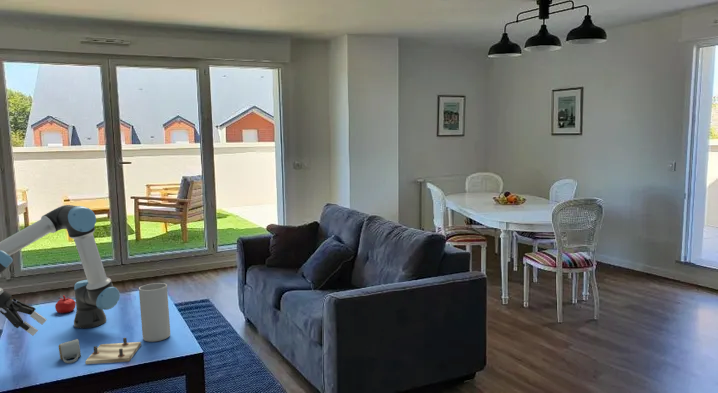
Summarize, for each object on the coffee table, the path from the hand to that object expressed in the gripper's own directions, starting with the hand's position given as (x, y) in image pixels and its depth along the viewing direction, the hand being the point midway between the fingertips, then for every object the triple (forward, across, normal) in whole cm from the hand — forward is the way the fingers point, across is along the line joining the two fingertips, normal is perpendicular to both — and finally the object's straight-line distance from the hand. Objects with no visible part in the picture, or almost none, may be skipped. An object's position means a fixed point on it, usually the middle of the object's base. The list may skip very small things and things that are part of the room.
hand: (40, 327), depth 234 cm
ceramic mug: (+19, +1, -3) cm, 19 cm away
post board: (+31, +2, +10) cm, 33 cm away
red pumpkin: (+6, -70, -15) cm, 72 cm away
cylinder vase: (+43, -12, +22) cm, 50 cm away
